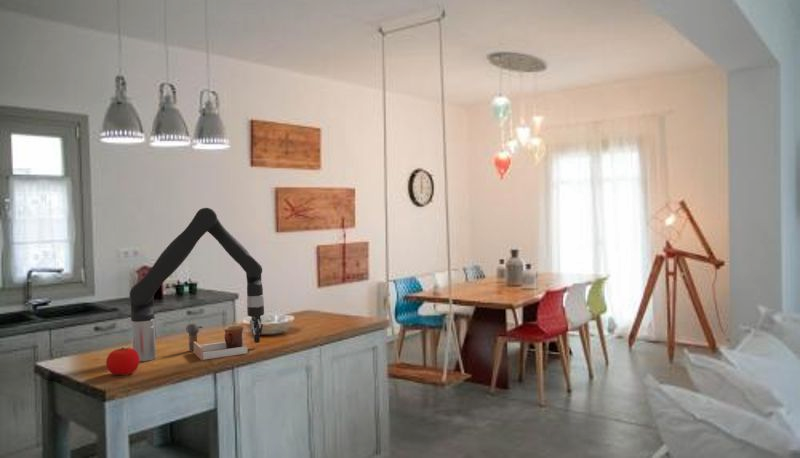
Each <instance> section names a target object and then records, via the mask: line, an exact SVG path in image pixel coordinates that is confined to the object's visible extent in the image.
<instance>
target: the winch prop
mask: <svg viewBox="0 0 800 458" xmlns="http://www.w3.org/2000/svg"><path fill="white" fill-rule="evenodd" d="M202 328H203V326H202V325H200V326H198V325H197V324H196V322H195V323H194V322H191V323H188V324H187V326H186V327H185V331H186V332H187V333H188V345H189V346H188V349H189V352H190V353H194V343H193V342H195V341H196V342H197V343H198V333H199V332H200V329H202Z"/></svg>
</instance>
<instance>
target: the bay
mask: <svg viewBox="0 0 800 458" xmlns="http://www.w3.org/2000/svg"><path fill="white" fill-rule="evenodd" d="M193 343H194V352H193V353H194V355H196V357H198V359H200V361H203V360H209V359H218V358H224V357H231V356H237V355H238V356H239V355H244V354H248V353H249V352H248V346H247V345H246V346H243V347H237V348H230V349H226V342H225V341H221V342H215V343H206V344H199V343H198V341H197V342H196V341H195V342H193Z"/></svg>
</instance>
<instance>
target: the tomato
mask: <svg viewBox="0 0 800 458" xmlns="http://www.w3.org/2000/svg"><path fill="white" fill-rule="evenodd" d="M140 362H141V361H140V359H139V355H138V353H137V351H136V350H134V349H132V348H131V347H127V348H125V347H121V348H118V349H114V350H113V351H111V352H110V353H109V354H108V355H107V358H106V361H105V364H106V368H107V370H108V371H109V372H110V373H111V374H113V375H117V376H126V375H125V374H127V375H130V373H131V374H132V373H135V372H136V370H137V369H138V368H139V365H140Z"/></svg>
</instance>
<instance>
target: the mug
mask: <svg viewBox="0 0 800 458" xmlns="http://www.w3.org/2000/svg"><path fill="white" fill-rule="evenodd" d="M244 328H245V327H244V326H241V325H234V326H233V325H232V326H227V327H223V331H224V342H226V349H230V348H237V347H244V343H243V342H244V341H243V339H244V338H243V332H244Z"/></svg>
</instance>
